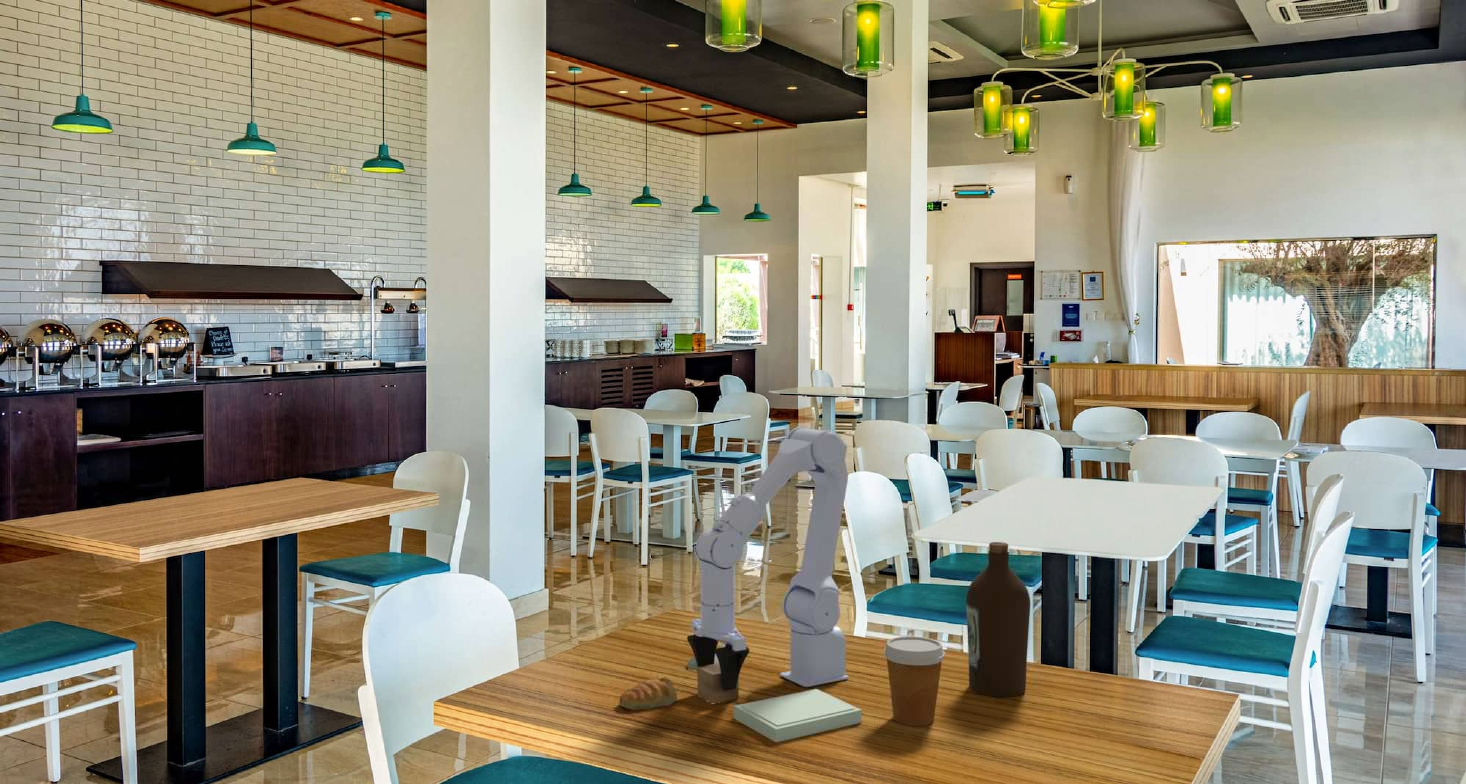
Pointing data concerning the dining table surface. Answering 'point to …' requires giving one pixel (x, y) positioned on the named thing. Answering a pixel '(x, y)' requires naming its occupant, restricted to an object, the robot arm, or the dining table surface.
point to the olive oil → (997, 627)
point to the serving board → (797, 715)
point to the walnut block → (714, 685)
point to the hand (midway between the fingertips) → (717, 683)
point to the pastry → (649, 694)
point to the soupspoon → (693, 665)
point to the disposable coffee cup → (914, 678)
